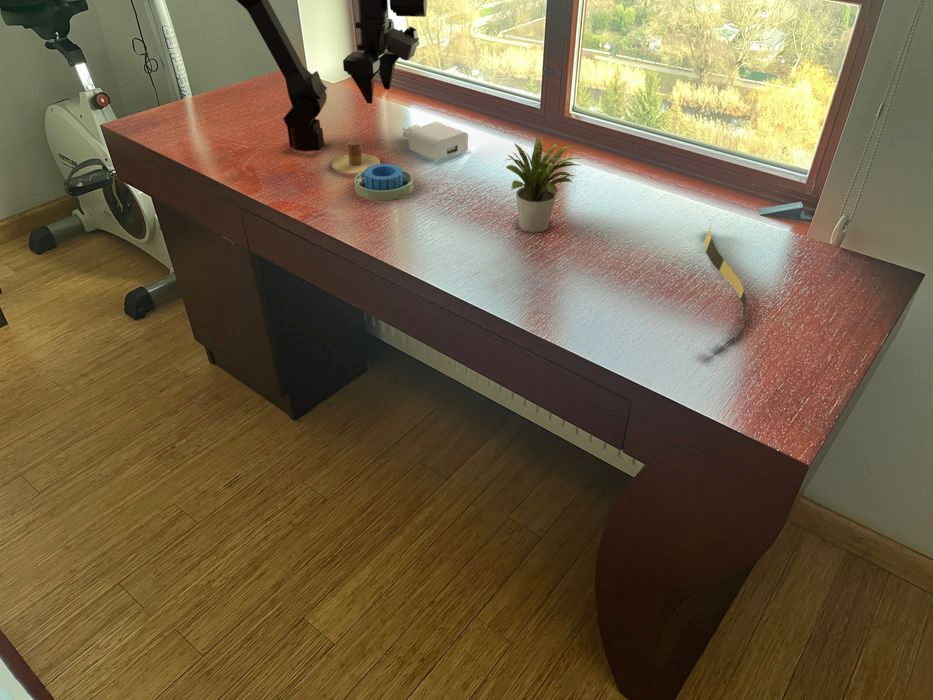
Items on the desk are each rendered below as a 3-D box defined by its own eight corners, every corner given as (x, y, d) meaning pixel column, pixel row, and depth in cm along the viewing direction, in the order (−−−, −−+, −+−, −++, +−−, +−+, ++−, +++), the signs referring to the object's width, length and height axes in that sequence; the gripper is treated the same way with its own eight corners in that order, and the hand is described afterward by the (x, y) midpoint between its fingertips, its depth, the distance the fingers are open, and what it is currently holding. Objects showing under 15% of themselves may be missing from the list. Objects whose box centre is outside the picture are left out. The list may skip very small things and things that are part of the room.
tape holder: (323, 172, 152) (321, 148, 149) (344, 154, 159) (342, 130, 156) (369, 179, 150) (367, 154, 146) (387, 160, 157) (386, 136, 154)
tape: (737, 240, 132) (743, 221, 129) (747, 369, 102) (755, 347, 100) (702, 235, 133) (708, 215, 130) (702, 361, 103) (709, 339, 101)
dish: (345, 199, 142) (344, 186, 141) (369, 175, 151) (368, 163, 149) (401, 207, 140) (400, 195, 138) (421, 183, 148) (421, 170, 147)
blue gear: (359, 193, 143) (357, 176, 141) (374, 178, 149) (373, 161, 147) (395, 199, 141) (394, 181, 139) (408, 183, 147) (408, 166, 145)
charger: (421, 133, 169) (467, 152, 161) (390, 144, 164) (436, 164, 156) (421, 112, 167) (468, 131, 158) (389, 123, 161) (436, 142, 153)
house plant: (537, 256, 126) (544, 165, 116) (476, 229, 133) (478, 141, 123) (586, 227, 134) (597, 140, 124) (526, 203, 142) (532, 119, 132)
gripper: (394, 31, 135) (398, 115, 145) (428, 7, 149) (430, 86, 159) (338, 25, 138) (345, 109, 147) (377, 3, 152) (382, 80, 161)
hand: (378, 96), depth 154 cm, fingers open, 9 cm apart
